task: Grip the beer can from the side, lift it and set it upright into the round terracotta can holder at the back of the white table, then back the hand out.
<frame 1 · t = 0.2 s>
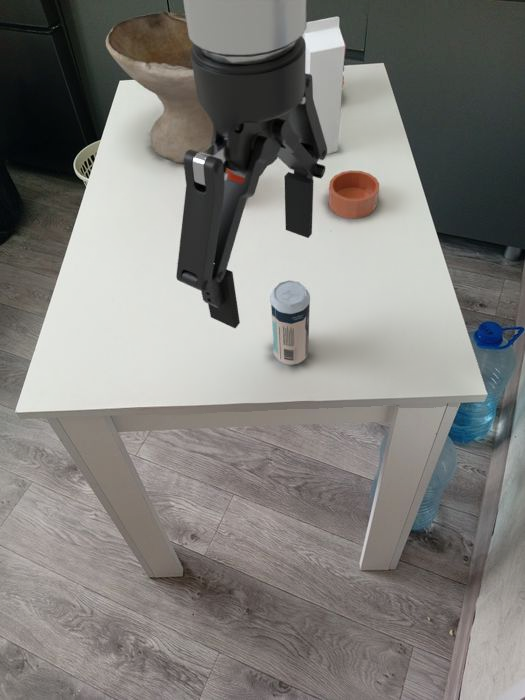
hand: (264, 273, 50), 21 cm above the table, tool pointing down, fingers open, 13 cm apart
beer can: (291, 353, 70), on the table
holder: (352, 203, 88), on the table
milk: (317, 147, 98), on the table
bowl: (197, 139, 102), on the table
apple: (230, 196, 91), on the table
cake: (318, 99, 109), on the table
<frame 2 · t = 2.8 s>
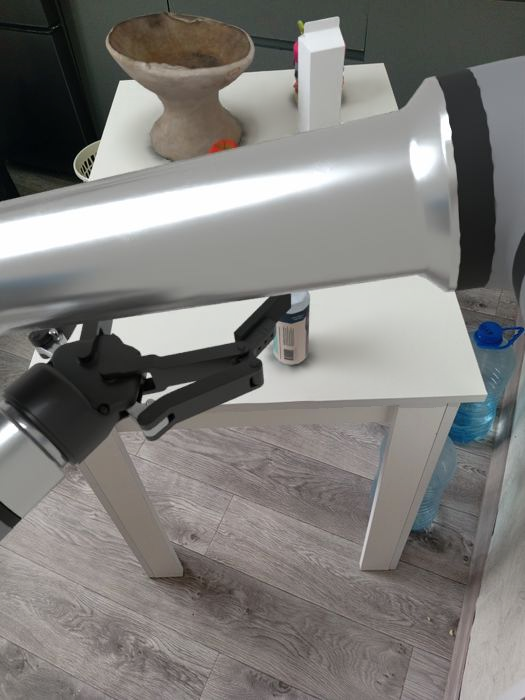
hand: (226, 262, 46), 24 cm above the table, tool horizontal, fingers open, 13 cm apart
nothing on the table moved.
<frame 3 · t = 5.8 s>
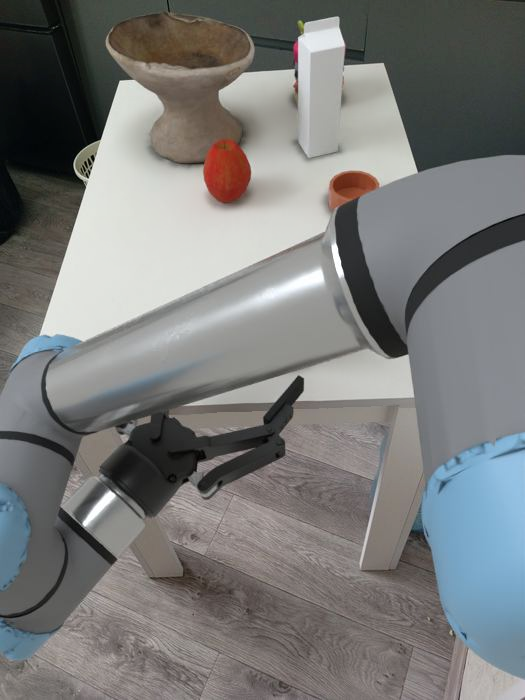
hand: (253, 354, 60), 8 cm above the table, tool horizontal, fingers open, 13 cm apart
nothing on the table moved.
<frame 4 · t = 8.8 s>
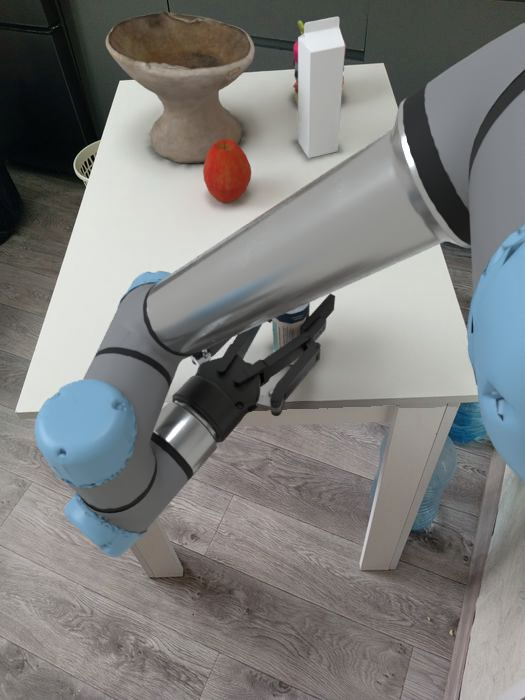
hand: (314, 292, 66), 7 cm above the table, tool horizontal, fingers closed on beer can, 5 cm apart
beer can: (291, 353, 70), on the table, touching gripper
everything else where it was.
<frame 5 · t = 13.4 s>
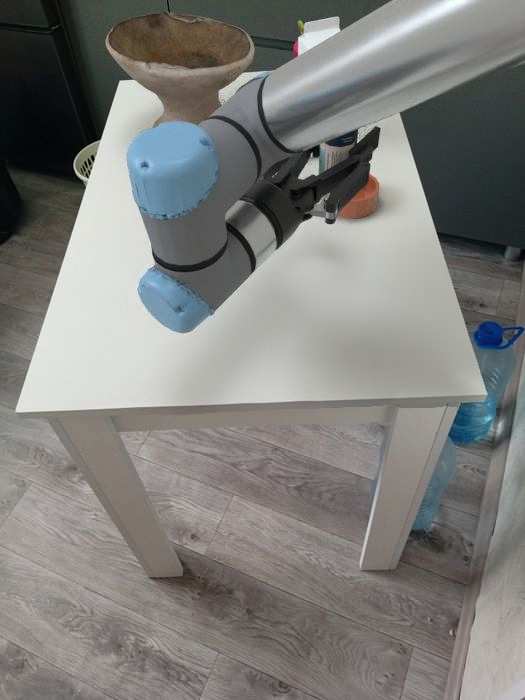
hand: (358, 130, 69), 18 cm above the table, tool horizontal, fingers closed on beer can, 5 cm apart
beer can: (334, 197, 72), point 11 cm above the table, touching gripper
everything else where it was.
when the fingers open (8 cm above the table, at t = 18.1 s): beer can stays where it is, resting on holder.
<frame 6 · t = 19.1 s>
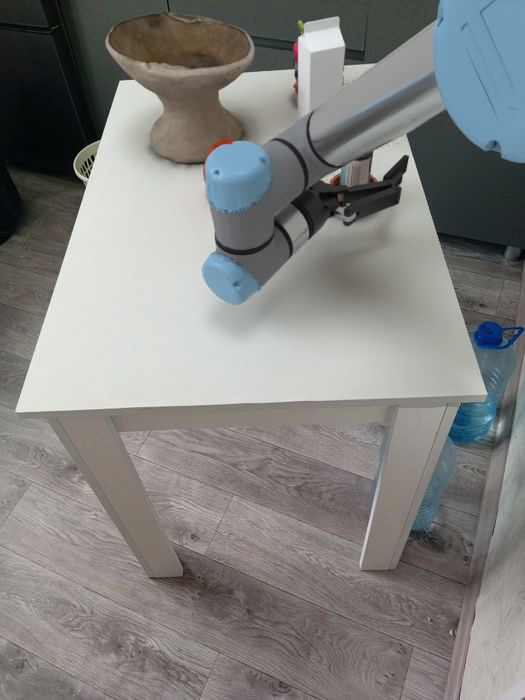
hand: (367, 149, 82), 9 cm above the table, tool horizontal, fingers open, 13 cm apart
beer can: (352, 201, 87), resting on holder
everything else where it was.
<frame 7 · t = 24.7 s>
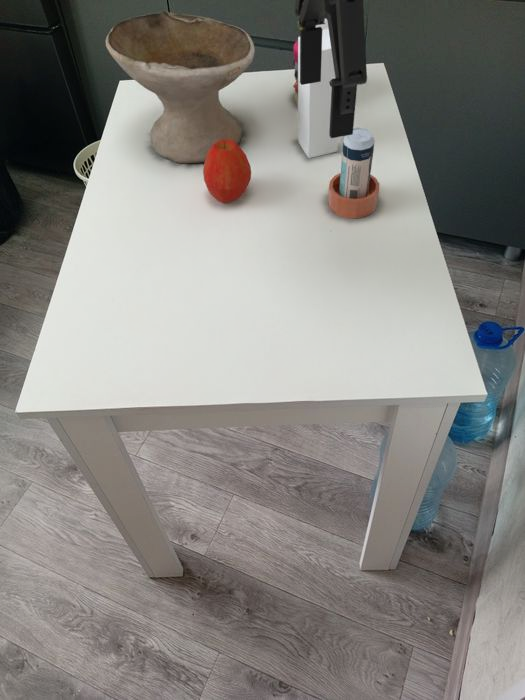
hand: (324, 107, 66), 22 cm above the table, tool pointing down, fingers open, 13 cm apart
nothing on the table moved.
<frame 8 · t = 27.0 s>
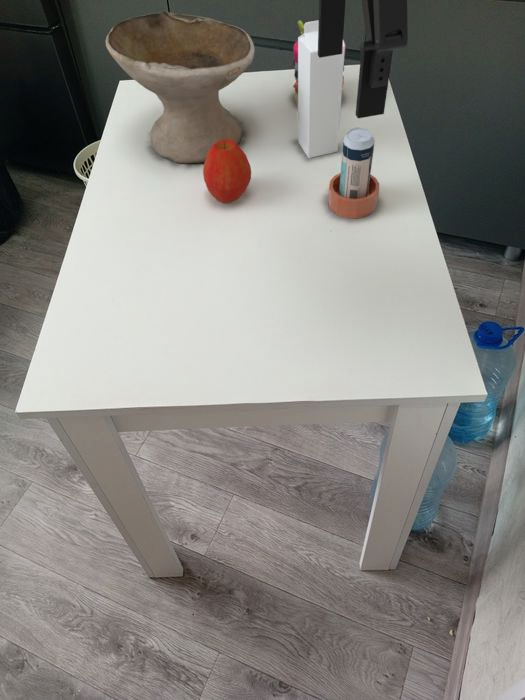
hand: (348, 82, 55), 29 cm above the table, tool pointing down, fingers open, 13 cm apart
nothing on the table moved.
at the end: beer can 0.0 cm off-centre in the holder, point 0.4 cm above the holder's base; beer can tilted 0°; the gripper is holding nothing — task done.
